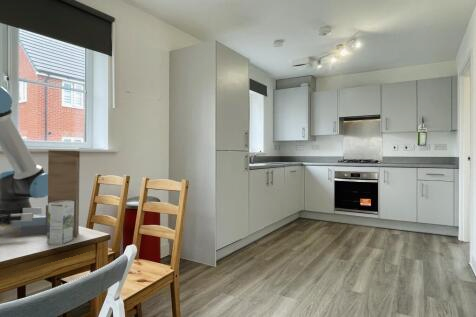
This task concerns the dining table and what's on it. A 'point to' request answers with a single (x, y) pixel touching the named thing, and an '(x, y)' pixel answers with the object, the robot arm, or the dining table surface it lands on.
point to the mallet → (33, 221)
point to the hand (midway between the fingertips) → (37, 213)
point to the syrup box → (60, 222)
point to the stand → (64, 180)
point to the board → (33, 230)
